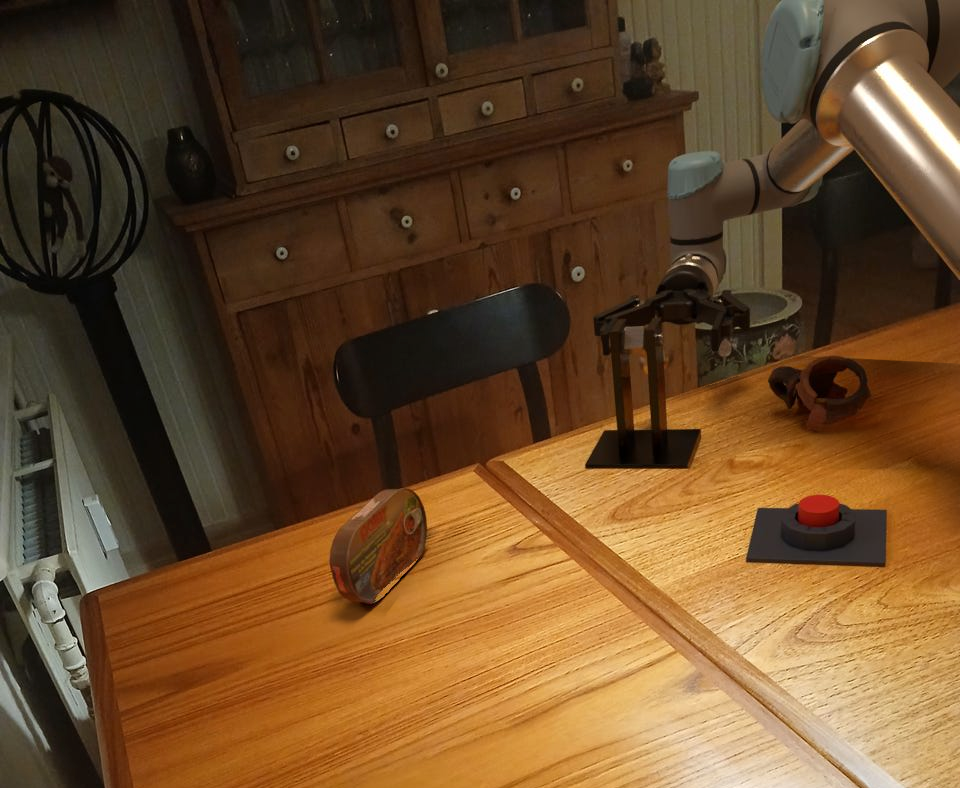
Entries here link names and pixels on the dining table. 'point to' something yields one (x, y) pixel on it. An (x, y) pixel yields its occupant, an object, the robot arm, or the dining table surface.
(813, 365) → the pottery mug
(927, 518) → the dining table surface
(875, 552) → the button box
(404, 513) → the tin
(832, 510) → the button
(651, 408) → the bracket
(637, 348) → the lever
